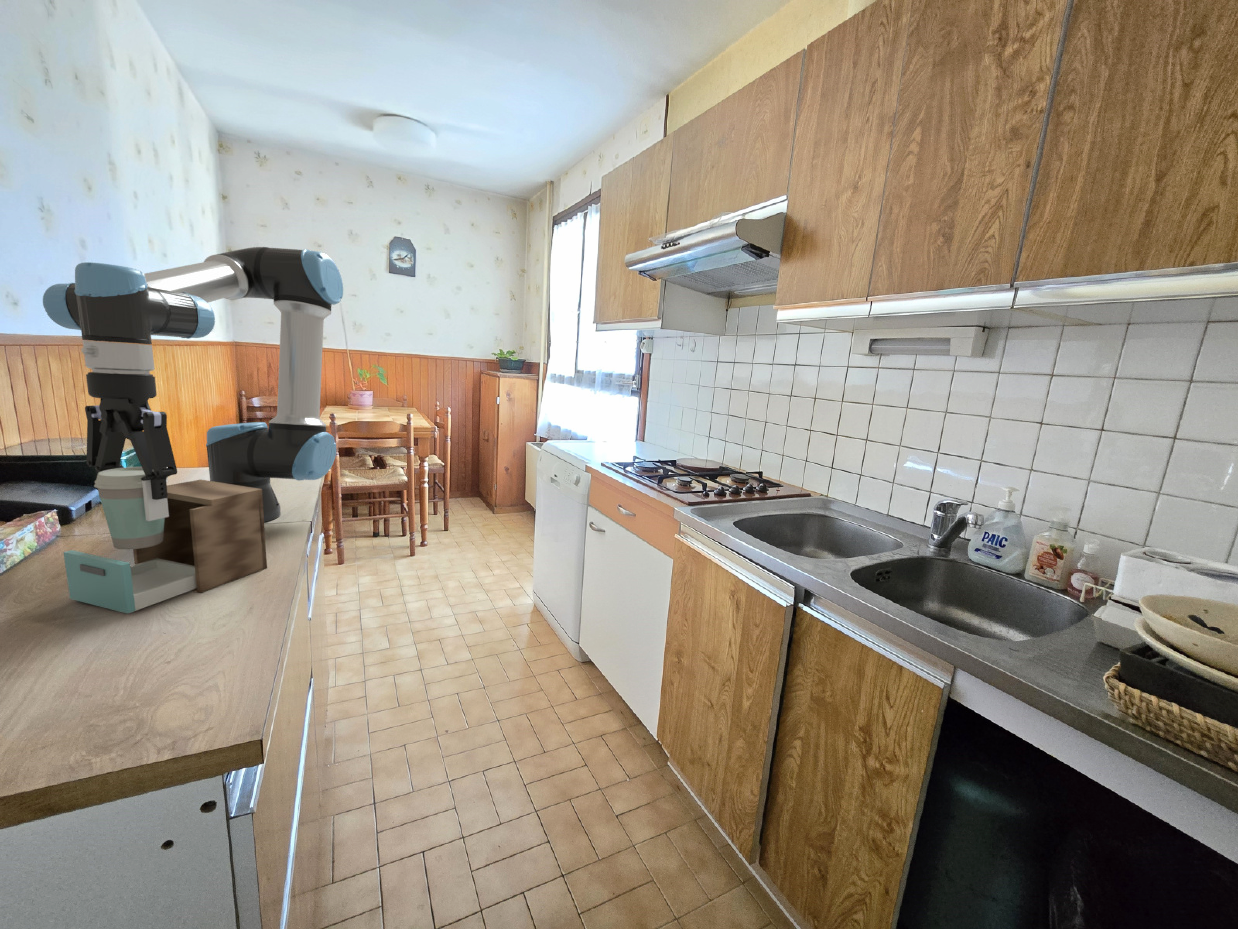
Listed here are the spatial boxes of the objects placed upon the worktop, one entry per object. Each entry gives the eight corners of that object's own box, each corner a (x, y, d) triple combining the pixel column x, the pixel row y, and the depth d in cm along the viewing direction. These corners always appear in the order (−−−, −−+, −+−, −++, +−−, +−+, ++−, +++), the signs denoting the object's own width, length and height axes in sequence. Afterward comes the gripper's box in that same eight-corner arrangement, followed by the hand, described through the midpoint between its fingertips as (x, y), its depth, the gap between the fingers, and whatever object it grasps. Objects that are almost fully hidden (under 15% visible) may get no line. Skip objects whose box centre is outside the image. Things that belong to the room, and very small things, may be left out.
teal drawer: (158, 570, 90) (154, 529, 89) (211, 582, 87) (207, 540, 86) (68, 599, 79) (61, 552, 77) (125, 614, 75) (119, 565, 74)
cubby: (207, 555, 100) (200, 479, 97) (267, 568, 96) (261, 489, 93) (136, 578, 88) (126, 492, 85) (200, 593, 84) (192, 504, 82)
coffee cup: (187, 539, 85) (181, 469, 83) (130, 556, 77) (121, 479, 74) (147, 532, 86) (140, 464, 84) (86, 548, 78) (76, 473, 76)
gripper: (40, 366, 76) (60, 511, 80) (143, 375, 70) (158, 530, 74) (102, 368, 83) (117, 501, 87) (199, 376, 78) (211, 517, 82)
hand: (136, 514), depth 81 cm, fingers closed on coffee cup, 8 cm apart
